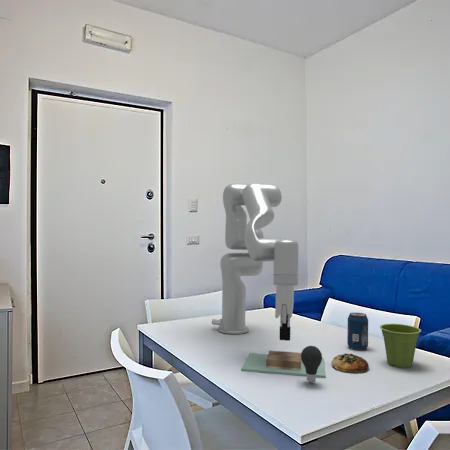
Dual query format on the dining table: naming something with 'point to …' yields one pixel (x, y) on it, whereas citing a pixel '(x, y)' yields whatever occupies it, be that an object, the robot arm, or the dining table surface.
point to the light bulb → (311, 362)
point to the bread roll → (350, 363)
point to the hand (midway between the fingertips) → (284, 339)
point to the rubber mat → (258, 364)
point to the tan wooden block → (284, 360)
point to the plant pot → (400, 343)
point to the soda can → (357, 331)
